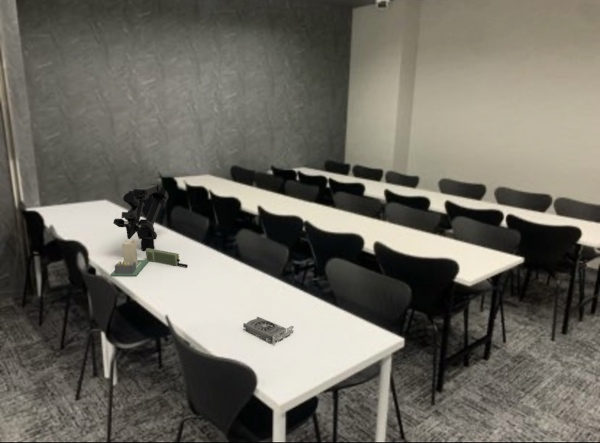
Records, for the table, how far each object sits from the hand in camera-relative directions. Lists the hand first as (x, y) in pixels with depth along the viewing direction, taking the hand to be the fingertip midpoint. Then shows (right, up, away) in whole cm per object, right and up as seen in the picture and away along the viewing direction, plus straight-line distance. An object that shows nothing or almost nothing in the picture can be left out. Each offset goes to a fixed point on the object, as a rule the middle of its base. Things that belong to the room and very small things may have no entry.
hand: (128, 238), depth 233 cm
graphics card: (+75, -33, -62) cm, 103 cm away
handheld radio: (+19, -13, +2) cm, 23 cm away
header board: (+3, -15, -6) cm, 16 cm away
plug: (+3, -13, -5) cm, 14 cm away
